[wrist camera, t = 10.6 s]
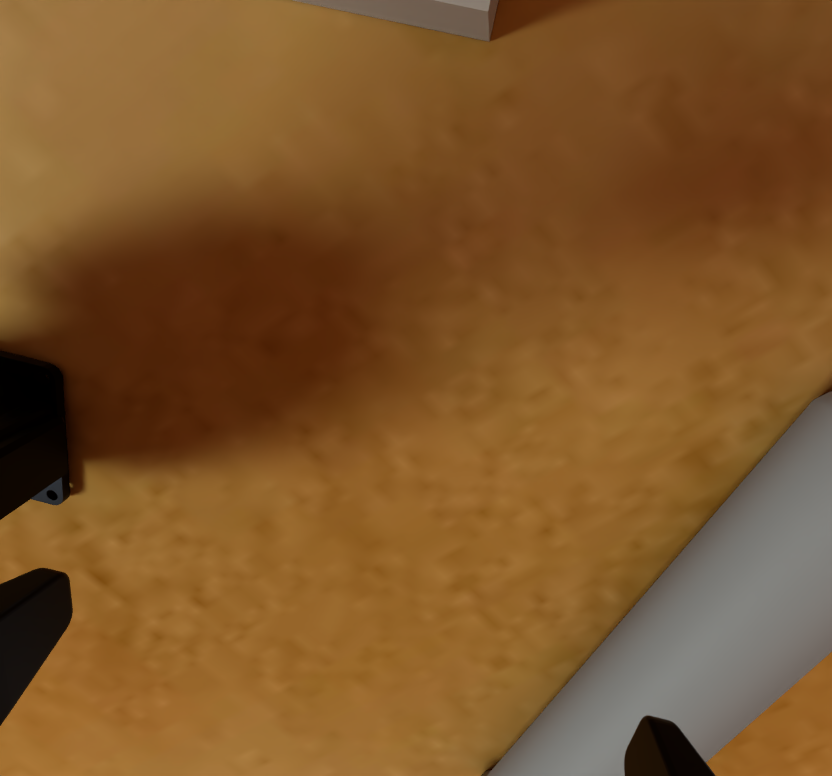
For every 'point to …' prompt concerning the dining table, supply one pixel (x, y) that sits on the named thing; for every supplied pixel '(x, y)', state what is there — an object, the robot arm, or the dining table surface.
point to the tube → (709, 623)
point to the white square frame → (426, 13)
